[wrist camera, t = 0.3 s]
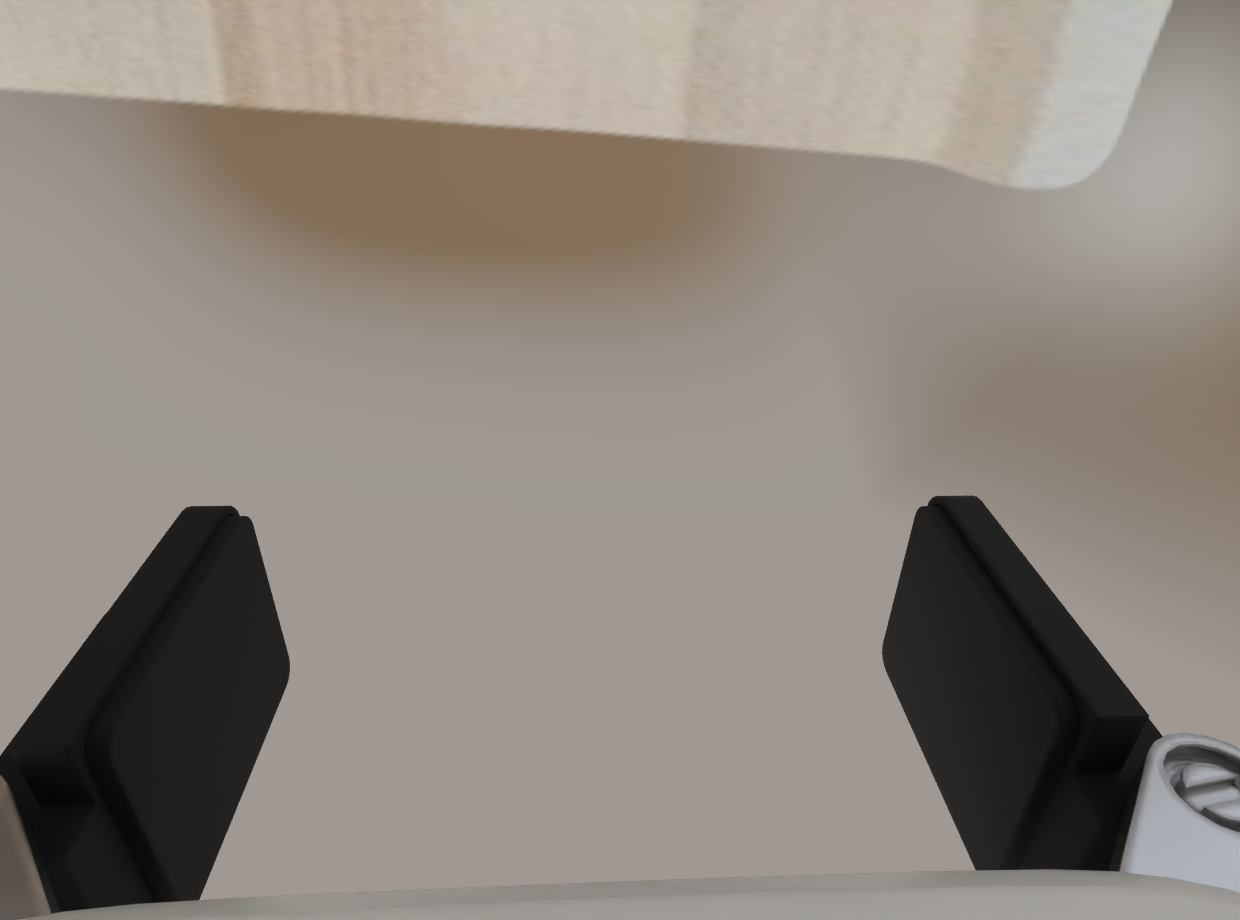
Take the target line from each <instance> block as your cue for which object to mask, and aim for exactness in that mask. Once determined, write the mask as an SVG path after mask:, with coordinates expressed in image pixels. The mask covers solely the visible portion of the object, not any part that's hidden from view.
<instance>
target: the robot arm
mask: <svg viewBox="0 0 1240 920" xmlns="http://www.w3.org/2000/svg"><path fill="white" fill-rule="evenodd" d="M882 654H883V662H884V666H885V669H886V672H887V674H888V676H889V679H890V681H891V683H892V685H893V688H894V690H895V692H896V694H897V696H898V699H899V701H900V703H901V705H902V707H903V710H904V712H905V714H906V716H907V719H908V721H909V723H910V725H911V728H912V730H913V732H914V734H915V736H916V738H917V741H918V743H919V745H920V747H921V750H922V752H923V754H924V756H925V758H926V761H927V763H928V765H929V767H930V770H931V772H932V774H933V776H934V778H935V781H936V783H937V785H938V787H939V789H940V792H941V794H942V796H943V799H944V801H945V803H946V805H947V807H948V810H949V812H950V814H951V816H952V819H953V820H954V823H955V825H956V827H957V830H958V832H959V834H960V836H961V839H962V841H963V843H964V845H965V847H966V850H967V852H968V854H969V856H970V858H971V861H972V863H973V865H974V867H975V869H976V870H975V871H974V870H973V871H919V872H918V871H916V872H886V873H855V874H823V875H792V876H762V877H734V878H732V877H730V878H703V879H679V880H677V879H676V880H648V881H623V882H622V881H621V882H595V883H569V884H543V885H519V886H518V885H517V886H493V887H492V886H491V887H468V888H445V889H421V890H397V891H375V892H353V893H352V892H351V893H327V894H305V895H281V896H262V897H247V898H230V899H212V900H199V899H200V897H201V894H202V892H203V889H204V886H205V885H206V882H207V879H208V877H209V875H210V872H211V870H212V867H213V865H214V862H215V860H216V857H217V855H218V853H219V850H220V848H221V845H222V843H223V840H224V838H225V836H226V833H227V831H228V828H229V826H230V823H231V821H232V818H233V816H234V813H235V811H236V809H237V806H238V803H239V801H240V799H241V796H242V794H243V791H244V789H245V786H246V784H247V782H248V779H249V777H250V774H251V772H252V769H253V767H254V764H255V762H256V759H257V757H258V754H259V752H260V750H261V747H262V745H263V742H264V740H265V737H266V735H267V733H268V730H269V728H270V725H271V723H272V720H273V718H274V715H275V713H276V710H277V708H278V706H279V703H280V701H281V698H282V696H283V693H284V691H285V688H286V686H287V682H288V679H289V672H290V661H289V656H288V652H287V649H286V644H285V641H284V637H283V633H282V630H281V626H280V622H279V619H278V615H277V611H276V607H275V604H274V600H273V596H272V593H271V589H270V585H269V582H268V578H267V574H266V571H265V567H264V563H263V559H262V556H261V552H260V548H259V545H258V541H257V537H256V534H255V530H254V526H253V523H252V521H251V519H250V518H249V517H247V516H239V513H238V511H237V510H236V509H235V508H234V507H232V506H191V507H187V508H185V509H184V510H183V511H182V512H181V513H180V515H179V516H178V518H177V519H176V520H175V521H174V523H173V524H172V526H171V527H170V528H169V530H168V531H167V532H166V534H165V535H164V536H163V538H162V539H161V541H160V542H159V543H158V544H157V546H156V547H155V549H154V550H153V551H152V553H151V554H150V555H149V557H148V558H147V559H146V561H145V562H144V563H143V565H142V566H141V567H140V569H139V570H138V572H137V573H136V574H135V576H134V577H133V578H132V580H131V581H130V582H129V584H128V585H127V586H126V588H125V589H124V590H123V592H122V593H121V595H120V596H119V597H118V599H117V600H116V601H115V603H114V604H113V606H112V607H111V608H110V610H109V611H108V612H107V613H106V614H105V615H104V616H103V618H102V619H101V620H100V622H99V623H98V624H97V626H96V627H95V629H94V630H93V631H92V633H91V634H90V635H89V637H88V638H87V639H86V641H85V642H84V643H83V645H82V646H81V648H80V649H79V650H78V652H77V653H76V654H75V656H74V657H73V658H72V660H71V661H70V662H69V664H68V665H67V666H66V668H65V669H64V670H63V672H62V673H61V674H60V676H59V677H58V679H57V680H56V681H55V683H54V684H53V686H52V687H51V688H50V689H49V691H48V692H47V693H46V695H45V696H44V698H43V699H42V700H41V701H40V703H39V704H38V706H37V707H36V708H35V710H34V711H33V713H32V714H31V715H30V716H29V718H28V719H27V721H26V722H25V723H24V724H23V726H22V727H21V728H20V730H19V731H18V733H17V734H16V735H15V737H14V738H13V739H12V741H11V742H10V743H9V745H8V746H7V747H6V749H5V750H4V751H3V753H2V754H1V756H0V920H1240V749H1239V748H1237V747H1235V746H1233V745H1231V744H1229V743H1226V742H1223V741H1220V740H1217V739H1214V738H1211V737H1208V736H1203V735H1196V734H1190V733H1179V734H1169V735H1166V736H1164V737H1163V736H1162V735H1161V734H1160V732H1159V731H1158V730H1157V728H1156V727H1155V726H1154V725H1153V723H1152V722H1151V721H1150V720H1149V718H1148V717H1149V715H1148V714H1147V712H1146V711H1145V710H1144V708H1143V707H1142V706H1141V705H1140V703H1139V702H1138V701H1137V700H1136V698H1135V697H1134V696H1133V694H1132V693H1131V692H1130V691H1129V689H1128V688H1127V687H1126V685H1125V684H1124V683H1123V682H1122V680H1121V679H1120V678H1119V676H1118V675H1117V674H1116V673H1115V671H1114V670H1113V669H1112V668H1111V666H1110V665H1109V664H1108V662H1107V661H1106V660H1105V659H1104V657H1103V656H1102V655H1101V654H1100V652H1099V651H1098V650H1097V648H1096V647H1095V646H1094V644H1093V643H1092V642H1091V641H1090V639H1089V638H1088V637H1087V635H1086V634H1085V633H1084V632H1083V630H1082V629H1081V628H1080V627H1079V625H1078V624H1077V623H1076V622H1075V620H1074V619H1073V617H1071V615H1070V614H1069V612H1068V611H1067V610H1066V609H1065V607H1064V606H1063V605H1062V603H1061V602H1060V601H1059V600H1058V598H1057V597H1056V596H1055V594H1054V593H1053V592H1052V591H1051V589H1050V588H1049V587H1048V585H1047V584H1046V583H1045V582H1044V580H1043V579H1042V578H1041V577H1040V575H1039V574H1038V573H1037V571H1036V570H1035V569H1034V568H1033V566H1032V565H1031V564H1030V563H1029V561H1028V560H1027V559H1026V557H1025V556H1024V555H1023V553H1022V552H1021V551H1020V550H1019V548H1018V547H1017V546H1016V545H1015V543H1014V542H1013V541H1012V539H1011V538H1010V537H1009V536H1008V534H1007V533H1006V532H1005V530H1004V529H1003V528H1002V527H1001V525H1000V524H999V523H998V521H997V520H996V519H995V518H994V516H993V515H992V514H991V513H990V511H989V510H988V509H987V508H986V506H985V505H984V504H983V502H982V501H981V500H980V499H979V498H978V497H975V496H936V497H933V498H932V499H931V500H930V501H929V503H928V506H922V507H920V508H919V509H918V510H917V512H916V515H915V518H914V523H913V526H912V530H911V534H910V539H909V542H908V546H907V551H906V554H905V558H904V562H903V566H902V570H901V574H900V578H899V582H898V586H897V590H896V594H895V598H894V602H893V606H892V610H891V614H890V618H889V622H888V626H887V630H886V634H885V638H884V642H883V648H882Z"/></svg>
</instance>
